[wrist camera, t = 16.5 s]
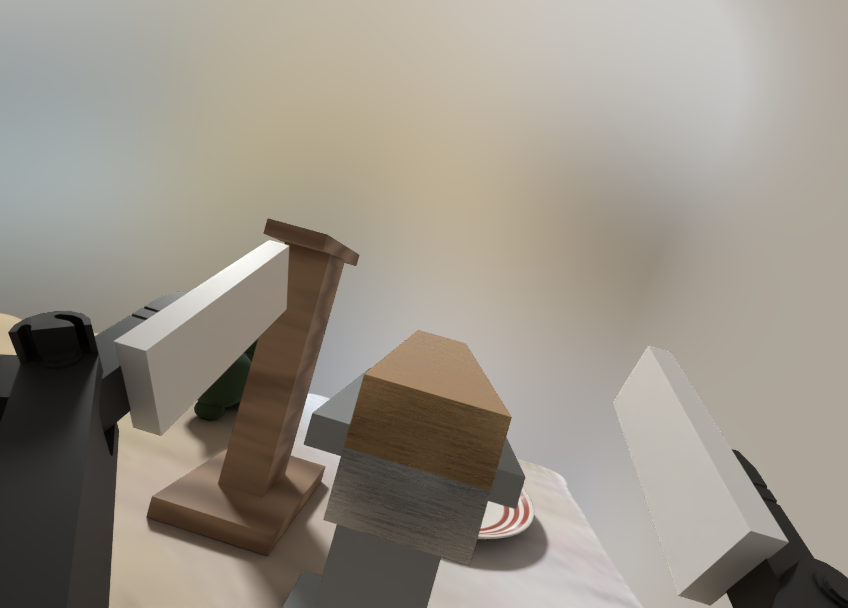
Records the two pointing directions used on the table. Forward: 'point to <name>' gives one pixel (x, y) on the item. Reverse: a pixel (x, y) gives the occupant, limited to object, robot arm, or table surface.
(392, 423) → the brown and gray block
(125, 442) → the table surface
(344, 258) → the tall stand
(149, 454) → the table surface
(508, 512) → the dinner plate
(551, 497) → the table surface
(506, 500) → the low stand
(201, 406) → the dark green knobbed ball
